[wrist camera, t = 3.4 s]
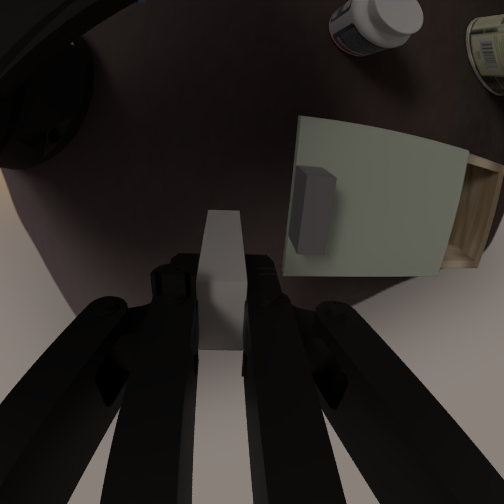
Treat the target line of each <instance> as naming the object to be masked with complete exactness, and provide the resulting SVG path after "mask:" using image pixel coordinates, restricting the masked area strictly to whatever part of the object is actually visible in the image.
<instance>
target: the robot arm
mask: <svg viewBox="0 0 504 504" xmlns="http://www.w3.org/2000/svg"><path fill="white" fill-rule="evenodd" d="M136 1H137V4H139V3H142V2H144V1H146V0H0V168H8V169H23V168H28V167H32V166H34V165H37V164H39V163H41V162H44V161H46V160H48V159H50V158H52V157H53V156H55V155H56V154H58V153H59V152H60V151H61V150H62V149H63V148H64V147H65V146H66V145H67V144H68V143H69V142H70V141H71V139H72V138H73V137H74V135H75V134H76V132H77V131H78V129H79V127H80V126H81V124H82V122H83V120H84V117H85V115H86V112H87V110H88V106H89V103H90V99H91V94H92V88H93V65H92V60H91V56H90V53H89V50H88V48H87V45H86V44H85V42H84V40H83V39H82V37H81V36H82V35H83V34H85V33H86V32H88V31H89V30H90V29H92V28H93V27H95V26H96V25H98V24H99V23H101V22H103V21H104V20H106V19H107V18H109V17H111V16H112V15H114V14H115V13H117V12H119V11H120V10H122V9H124V8H126V7H127V6H129V5H131V4H133V3H134V2H136ZM150 275H151V285H152V294H153V298H152V301H151V303H149V304H146V305H143V306H138V307H132V308H128V307H127V303H126V302H125V301H124V300H123V299H121V298H119V297H113V296H107V297H101V298H99V299H96V300H94V301H93V302H91V303H90V304H89V305H88V306H87V307H86V308H85V309H84V310H83V311H82V312H81V313H80V314H79V315H78V316H77V317H76V318H75V319H74V320H73V321H72V323H71V324H70V325H69V326H68V327H67V328H66V329H65V330H64V331H63V332H62V333H61V334H60V335H59V336H58V338H57V339H56V340H55V341H54V342H53V343H52V344H51V345H50V346H49V347H48V349H47V350H46V351H45V352H44V353H43V354H42V355H41V356H40V357H39V359H38V360H37V361H36V362H35V363H34V364H33V365H32V367H31V368H30V369H29V370H28V371H27V373H26V374H25V375H24V376H23V377H22V378H21V380H20V381H19V382H18V383H17V384H16V385H15V387H14V388H13V389H12V390H11V392H10V393H9V394H8V395H7V396H6V398H5V399H4V400H3V401H2V403H1V404H0V504H67V503H68V501H69V499H70V497H71V495H72V493H73V491H74V490H75V488H76V486H77V484H78V482H79V480H80V478H81V477H82V475H83V473H84V471H85V469H86V467H87V466H88V464H89V462H90V460H91V458H92V456H93V455H94V453H95V451H96V449H97V447H98V446H99V444H100V442H101V440H102V438H103V437H104V435H105V433H106V431H107V429H108V428H109V426H110V424H111V423H112V421H113V419H114V417H115V415H116V414H117V412H118V410H119V409H120V411H119V415H118V419H117V423H116V427H115V432H114V436H113V441H112V445H111V449H110V454H109V459H108V464H107V469H106V474H105V479H104V484H103V489H102V495H101V500H100V504H192V472H193V447H194V425H195V407H196V390H197V375H198V361H199V359H198V347H199V350H243V364H242V376H244V388H245V402H246V417H247V430H248V442H249V455H250V468H251V480H252V492H253V504H346V500H345V496H344V492H343V488H342V484H341V480H340V476H339V473H338V469H337V465H336V461H335V457H334V454H333V450H332V446H331V442H330V439H329V435H328V431H327V428H326V424H325V420H324V417H323V413H322V410H323V412H324V414H325V415H326V417H327V419H328V420H329V422H330V424H331V425H332V427H333V429H334V430H335V432H336V434H337V435H338V437H339V438H340V440H341V442H342V443H343V445H344V447H345V448H346V450H347V452H348V453H349V455H350V457H351V458H352V460H353V461H354V463H355V464H356V466H357V468H358V469H359V471H360V473H361V474H362V476H363V477H364V479H365V481H366V482H367V484H368V486H369V487H370V489H371V490H372V492H373V494H374V495H375V497H376V498H377V500H378V501H379V503H380V504H504V479H503V478H502V477H501V476H500V474H499V473H498V472H497V471H496V470H495V468H494V467H493V466H492V465H491V463H490V462H489V461H488V460H487V458H486V457H485V456H484V455H483V454H482V452H481V451H480V450H479V449H478V448H477V446H476V445H475V444H474V443H473V442H472V440H471V439H470V438H469V437H468V436H467V434H466V433H465V432H464V431H463V430H462V428H461V427H460V426H459V425H458V424H457V423H456V421H455V420H454V419H453V418H452V417H451V416H450V414H449V413H447V411H446V410H445V409H444V408H443V406H442V405H441V404H440V403H439V402H438V401H437V400H436V398H435V397H434V396H433V395H432V394H431V393H430V392H429V390H428V389H427V388H426V387H425V386H424V385H423V384H422V382H421V381H420V380H419V379H418V378H417V377H416V376H415V375H414V374H413V372H411V370H410V369H409V368H408V367H407V366H406V365H405V363H404V362H402V360H401V359H400V358H399V357H398V356H397V355H396V354H395V353H394V351H393V350H392V349H391V348H390V347H389V346H388V345H387V344H386V343H385V342H384V340H383V339H382V338H381V337H380V336H379V335H378V334H377V333H376V332H375V331H374V330H373V329H372V328H371V326H370V325H369V324H368V323H367V322H366V321H365V320H364V319H363V318H362V317H361V316H360V315H359V314H358V313H357V311H356V310H355V309H353V308H352V307H351V306H349V305H347V304H345V303H343V302H339V301H325V302H322V303H320V304H319V305H318V306H317V307H316V311H315V312H314V311H309V310H304V309H300V308H297V307H295V306H293V305H291V302H290V299H289V298H288V296H287V295H285V294H284V293H282V291H281V287H280V284H279V280H278V277H277V273H276V269H275V266H274V262H273V260H271V259H270V258H269V257H268V256H267V255H251V254H244V247H243V238H242V229H241V220H240V211H231V210H208V214H207V220H206V225H205V231H204V236H203V242H202V248H201V254H186V253H178V254H177V255H176V256H175V257H173V258H172V259H171V262H170V264H166V265H162V266H159V267H157V268H155V269H154V270H153V271H152V272H151V273H150Z"/></svg>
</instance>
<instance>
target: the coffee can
mask: <svg viewBox="0 0 504 504" xmlns="http://www.w3.org/2000/svg"><path fill="white" fill-rule="evenodd" d="M466 48H467V53H468V57H469V61H470V63H471V66H472V68H473V70H474V72H475V74H476V76H477V77H478V79H479V80H480V82H481V83H482V84H483V86H484V87H485V88H486V89H488V90H489V91H490V92H492V93H494V94H496V95H504V14H503V15H495V16H489V17H479V18H475V19H474V20H472V21H471V23H470V24H469V26H468V28H467V32H466Z"/></svg>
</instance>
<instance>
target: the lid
mask: <svg viewBox="0 0 504 504" xmlns="http://www.w3.org/2000/svg"><path fill="white" fill-rule="evenodd" d="M468 155H469V151H468V150H465V149H462V148H458V147H455V146H451V145H448V144H444V143H441V142H437V141H433V140H430V139H426V138H422V137H418V136H414V135H410V134H405V133H401V132H396V131H392V130H387V129H382V128H377V127H372V126H367V125H361V124H355V123H350V122H343V121H337V120H330V119H323V118H316V117H308V116H299V115H298V125H297V136H296V146H295V156H294V166H293V176H292V185H291V195H290V204H289V213H288V221H287V230H286V238H285V246H284V255H283V263H282V270H281V271H282V274H283V276H343V277H395V276H437V275H438V272H439V270H440V267H441V264H442V260H443V257H444V254H445V251H446V248H447V245H448V241H449V238H450V234H451V231H452V227H453V224H454V220H455V216H456V212H457V208H458V204H459V200H460V195H461V191H462V186H463V182H464V177H465V172H466V166H467V161H468Z"/></svg>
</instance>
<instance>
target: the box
mask: <svg viewBox="0 0 504 504" xmlns="http://www.w3.org/2000/svg"><path fill="white" fill-rule="evenodd" d="M503 175H504V166H503V165H501V164H498V163H495V162H493V161H490V160H487V159H484V158H482V157H479V156H476V155H473V154H470V153H469V155H468V161H467V166H466V172H465V177H464V182H463V186H462V191H461V195H460V200H459V204H458V208H457V212H456V216H455V220H454V224H453V227H452V231H451V234H450V238H449V241H448V245H447V248H446V251H445V254H444V257H443V260H442V264H441V267H440V268H478V265H479V262H480V259H481V256H482V253H483V250H484V247H485V244H486V241H487V238H488V235H489V231H490V228H491V225H492V221H493V217H494V214H495V210H496V206H497V202H498V198H499V194H500V189H501V185H502V180H503Z"/></svg>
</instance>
